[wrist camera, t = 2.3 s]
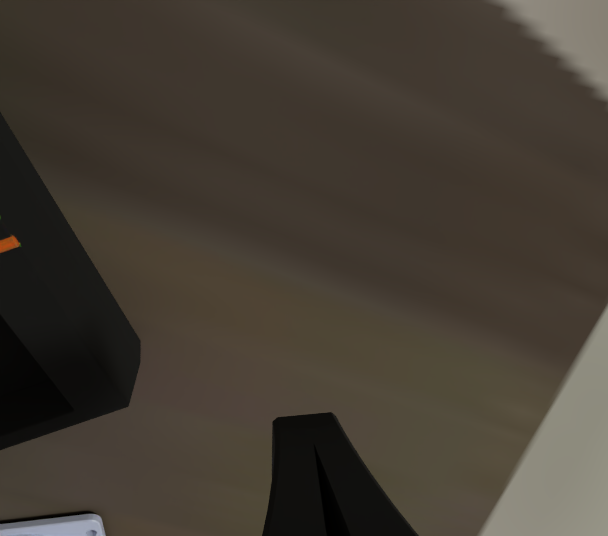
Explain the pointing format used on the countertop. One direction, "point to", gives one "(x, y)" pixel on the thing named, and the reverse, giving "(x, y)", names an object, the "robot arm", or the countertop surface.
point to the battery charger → (53, 315)
